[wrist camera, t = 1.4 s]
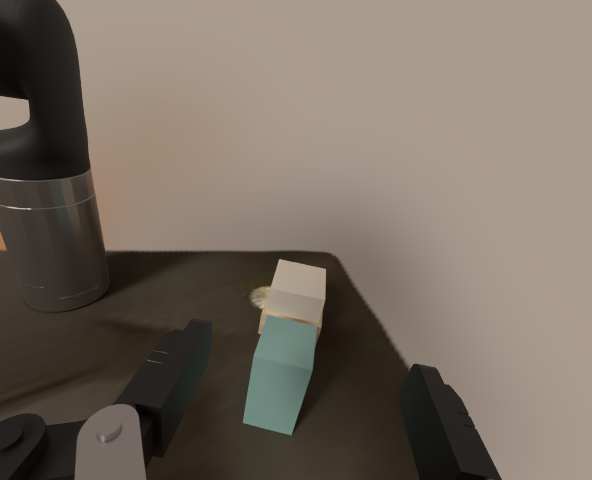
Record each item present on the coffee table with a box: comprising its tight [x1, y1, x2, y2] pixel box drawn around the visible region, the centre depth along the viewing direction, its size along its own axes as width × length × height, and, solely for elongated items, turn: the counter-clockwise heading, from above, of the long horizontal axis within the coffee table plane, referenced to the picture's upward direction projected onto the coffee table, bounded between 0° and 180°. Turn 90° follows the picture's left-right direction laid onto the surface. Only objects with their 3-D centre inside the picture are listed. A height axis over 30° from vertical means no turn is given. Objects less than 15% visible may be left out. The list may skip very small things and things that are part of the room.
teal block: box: [243, 315, 317, 435], centre depth 27 cm, size 5×5×10 cm
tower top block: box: [266, 259, 326, 323], centre depth 39 cm, size 7×7×4 cm
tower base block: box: [258, 291, 323, 347], centre depth 40 cm, size 8×8×4 cm
